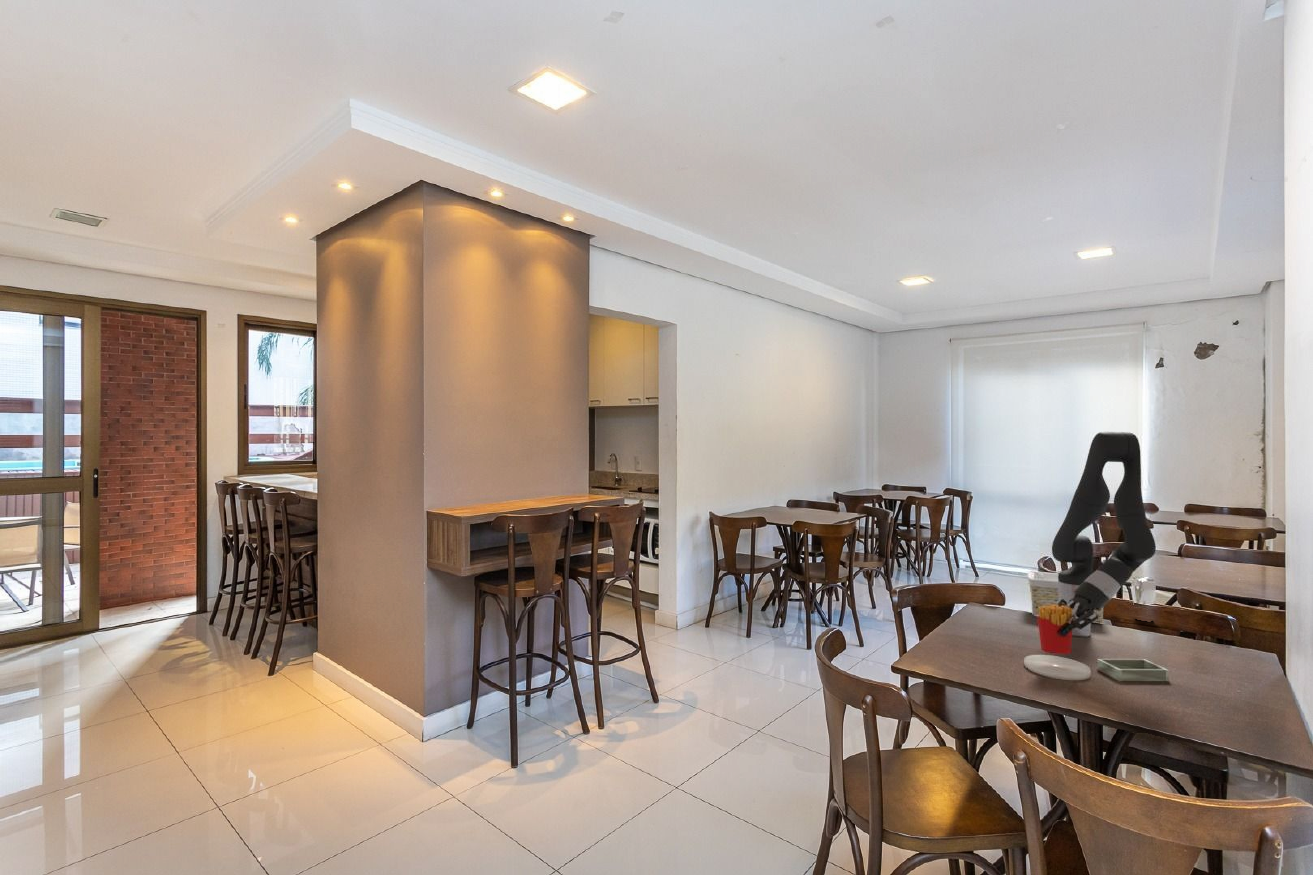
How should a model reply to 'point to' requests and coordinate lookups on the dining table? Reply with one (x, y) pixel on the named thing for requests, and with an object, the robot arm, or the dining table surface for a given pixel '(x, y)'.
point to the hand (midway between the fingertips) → (1055, 632)
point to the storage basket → (1048, 592)
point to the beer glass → (1143, 590)
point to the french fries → (1054, 629)
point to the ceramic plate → (1057, 667)
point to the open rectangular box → (1132, 670)
